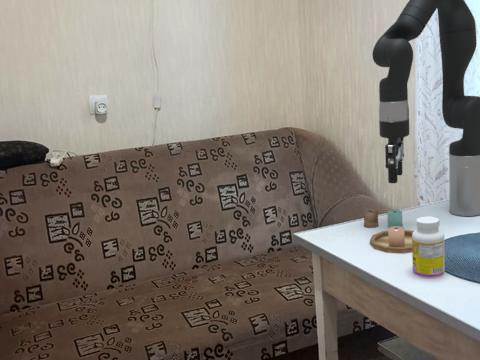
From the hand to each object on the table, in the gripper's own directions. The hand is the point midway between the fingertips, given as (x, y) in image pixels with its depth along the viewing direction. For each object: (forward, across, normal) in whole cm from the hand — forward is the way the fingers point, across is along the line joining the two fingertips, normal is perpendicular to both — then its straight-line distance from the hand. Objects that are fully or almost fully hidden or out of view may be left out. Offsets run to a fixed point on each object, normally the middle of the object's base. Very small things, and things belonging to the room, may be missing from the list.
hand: (395, 178), depth 155 cm
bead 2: (+14, -1, 0) cm, 14 cm away
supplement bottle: (+15, +29, +11) cm, 34 cm away
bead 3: (+14, +15, +2) cm, 21 cm away
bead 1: (+14, -1, -7) cm, 16 cm away
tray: (+14, +12, +2) cm, 19 cm away
